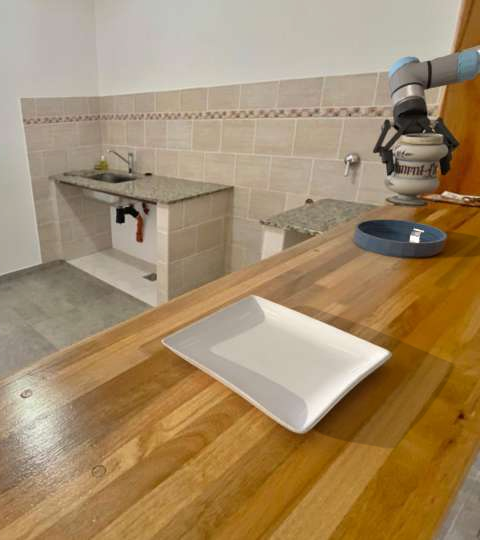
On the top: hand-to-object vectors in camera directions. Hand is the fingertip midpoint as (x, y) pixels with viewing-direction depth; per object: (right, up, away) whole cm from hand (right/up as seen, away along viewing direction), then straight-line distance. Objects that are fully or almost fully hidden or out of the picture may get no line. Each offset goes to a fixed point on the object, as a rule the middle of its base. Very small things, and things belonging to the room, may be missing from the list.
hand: (418, 172), depth 100 cm
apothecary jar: (+1, -7, +6) cm, 9 cm away
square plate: (-52, -42, -33) cm, 75 cm away
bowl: (+2, -18, +11) cm, 21 cm away
